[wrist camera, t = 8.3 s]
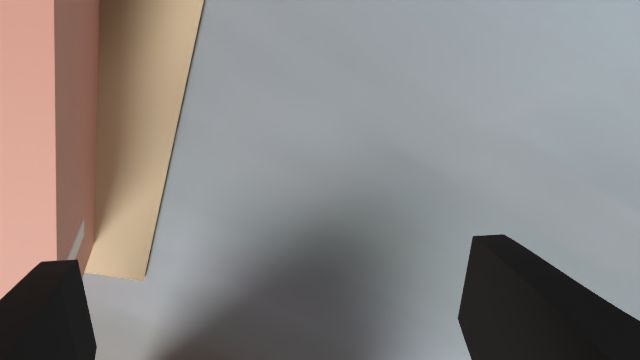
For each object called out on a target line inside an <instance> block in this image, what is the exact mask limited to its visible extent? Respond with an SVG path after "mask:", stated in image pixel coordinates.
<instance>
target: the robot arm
mask: <svg viewBox="0 0 640 360" xmlns="http://www.w3.org/2000/svg"><path fill="white" fill-rule="evenodd" d="M458 320H459V324H460V327H461V330H462V333H463V336H464V339H465V342H466V345H467V348H468V350H469V353H470V356H471V359H472V360H640V321H639V320H637V319H635V318H634V317H632V316H630V315H629V314H627V313H625V312H624V311H622V310H620V309H619V308H617V307H615V306H614V305H612V304H611V303H609V302H607V301H606V300H604V299H603V298H601V297H599V296H598V295H596V294H595V293H593V292H592V291H590V290H589V289H587V288H586V287H584V286H582V285H581V284H579V283H578V282H576V281H575V280H573V279H572V278H570V277H569V276H567V275H566V274H564V273H563V272H561V271H560V270H558V269H557V268H555V267H554V266H552V265H551V264H549V263H548V262H546V261H545V260H543V259H542V258H540V257H539V256H537V255H536V254H534V253H533V252H531V251H530V250H528V249H527V248H525V247H524V246H522V245H520V244H519V243H517V242H516V241H514V240H512V239H511V238H509V237H507V236H505V235H486V236H473V239H472V244H471V250H470V255H469V261H468V266H467V272H466V277H465V283H464V288H463V294H462V299H461V305H460V310H459V315H458ZM96 348H97V346H96V342H95V337H94V332H93V328H92V323H91V319H90V314H89V309H88V305H87V300H86V295H85V291H84V286H83V281H82V277H81V272H80V267H79V263H78V259H77V260H60V261H43V262H40V263H39V264H38V265H37V266H36V267H34V268H33V269H32V270H31V271H30V272H29V273H28V274H27V275H26V276H25V277H24V278H23V279H21V280H20V281H19V282H18V283H17V284H16V285H15V286H14V287H13V288H12V289H11V290H10V291H9V292H8V293H7V294H6V295H5V296H4V297H3V298H2V299H0V360H95V354H96Z"/></svg>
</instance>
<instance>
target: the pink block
mask: <svg viewBox="0 0 640 360" xmlns="http://www.w3.org/2000/svg"><path fill="white" fill-rule="evenodd" d="M99 3H100V0H0V299H2V298H3V297H4V296H5V295H6V294H7V293H8V292H9V291H10V290H11V289H12V288H13V287H14V286H15V285H16V284H17V283H18V282H19V281H20V280H21V279H23V278H24V277H25V276H26V275H27V274H28V273H29V272H30V271H31V270H32V269H33V268H34V267H36V266H37V265H38V264H39V263H40V262H43V261H60V260H77V259H78V263H79V267H80V272H81V277H82V278H83V275H84V272H85V269H86V266H87V263H88V260H89V257H90V254H91V251H92V249H93V246H94V217H95V174H96V131H97V89H98V46H99Z"/></svg>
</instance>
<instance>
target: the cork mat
mask: <svg viewBox="0 0 640 360" xmlns="http://www.w3.org/2000/svg"><path fill="white" fill-rule="evenodd" d="M203 2H204V0H100V3H99V46H98V89H97V131H96V174H95V217H94V246H93V249H92V251H91V254H90V257H89V260H88V263H87V266H86V269H85V273H91V274H98V275H105V276H112V277H118V278H125V279H132V280H139V281H144V277H145V272H146V267H147V263H148V258H149V253H150V249H151V244H152V239H153V235H154V230H155V225H156V221H157V216H158V211H159V207H160V202H161V197H162V193H163V188H164V183H165V179H166V174H167V169H168V165H169V160H170V155H171V151H172V146H173V141H174V137H175V132H176V127H177V123H178V118H179V113H180V109H181V104H182V99H183V95H184V90H185V86H186V81H187V76H188V72H189V67H190V62H191V58H192V53H193V48H194V44H195V39H196V34H197V30H198V25H199V20H200V16H201V11H202V6H203Z"/></svg>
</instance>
